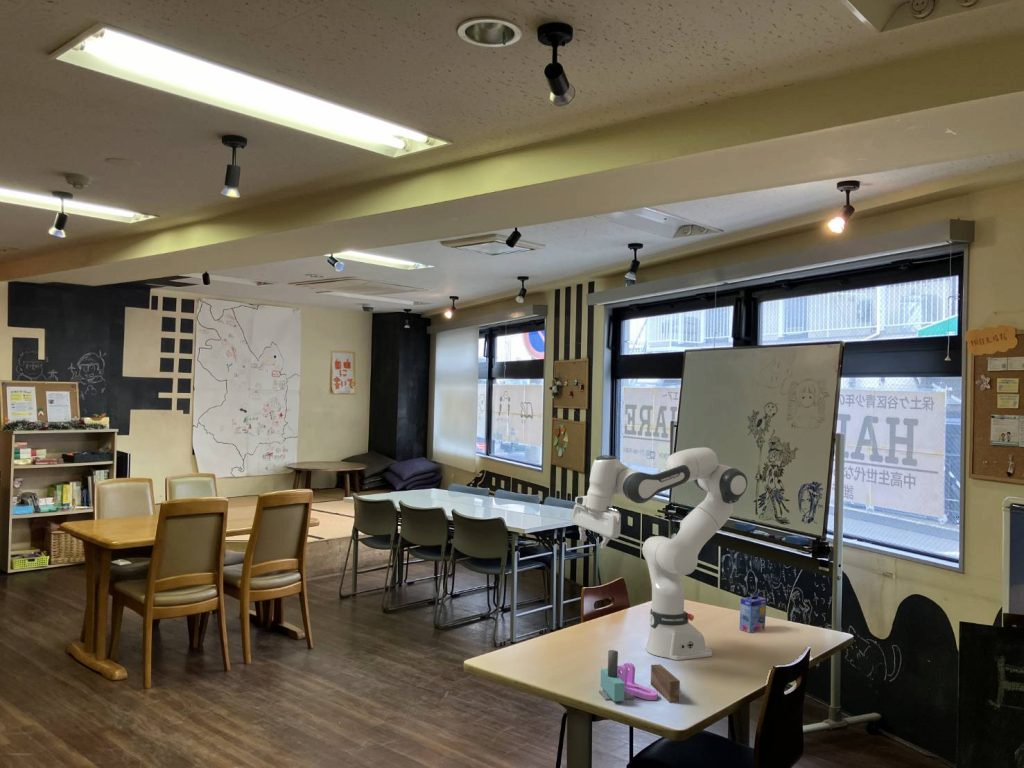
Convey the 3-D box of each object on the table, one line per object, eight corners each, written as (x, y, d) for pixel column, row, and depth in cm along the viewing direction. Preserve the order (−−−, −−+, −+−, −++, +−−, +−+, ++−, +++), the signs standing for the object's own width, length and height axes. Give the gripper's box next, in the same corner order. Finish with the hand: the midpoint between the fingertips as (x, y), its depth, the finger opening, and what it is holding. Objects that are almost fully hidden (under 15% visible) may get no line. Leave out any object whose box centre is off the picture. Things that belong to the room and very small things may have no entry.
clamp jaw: (610, 685, 225) (611, 645, 225) (624, 700, 213) (625, 658, 213) (600, 685, 224) (601, 645, 224) (614, 701, 212) (615, 658, 213)
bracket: (613, 687, 223) (615, 664, 223) (623, 684, 227) (625, 660, 227) (651, 701, 214) (653, 677, 215) (661, 697, 219) (662, 673, 219)
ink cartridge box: (750, 633, 285) (751, 595, 286) (738, 629, 290) (739, 592, 290) (766, 629, 291) (767, 592, 291) (754, 626, 295) (755, 589, 296)
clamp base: (659, 684, 229) (660, 664, 229) (679, 702, 215) (679, 681, 215) (594, 687, 225) (595, 667, 225) (610, 705, 211) (610, 684, 211)
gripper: (628, 511, 242) (621, 553, 242) (585, 497, 259) (579, 536, 259) (614, 510, 238) (607, 553, 239) (572, 496, 255) (565, 536, 255)
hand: (592, 544), depth 249 cm, fingers open, 8 cm apart
